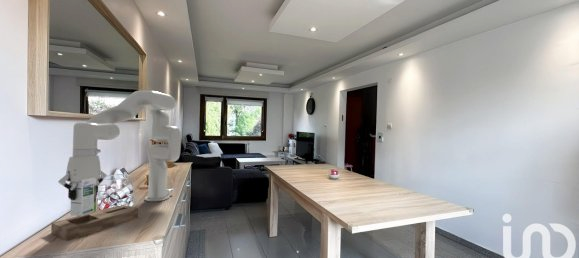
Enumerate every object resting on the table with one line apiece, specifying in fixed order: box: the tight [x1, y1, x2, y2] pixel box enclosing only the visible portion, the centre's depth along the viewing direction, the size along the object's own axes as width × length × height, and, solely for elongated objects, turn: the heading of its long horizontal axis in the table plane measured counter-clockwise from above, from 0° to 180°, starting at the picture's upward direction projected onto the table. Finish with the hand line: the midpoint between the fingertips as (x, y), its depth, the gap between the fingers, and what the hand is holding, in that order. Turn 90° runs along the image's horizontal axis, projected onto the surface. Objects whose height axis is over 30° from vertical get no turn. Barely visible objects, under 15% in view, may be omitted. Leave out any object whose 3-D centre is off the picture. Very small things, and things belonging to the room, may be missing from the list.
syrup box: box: [69, 178, 97, 217], centre depth 97 cm, size 6×6×14 cm
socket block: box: [50, 204, 139, 241], centre depth 102 cm, size 12×26×4 cm, turn 155°
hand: (83, 196), depth 97 cm, fingers closed on syrup box, 6 cm apart
